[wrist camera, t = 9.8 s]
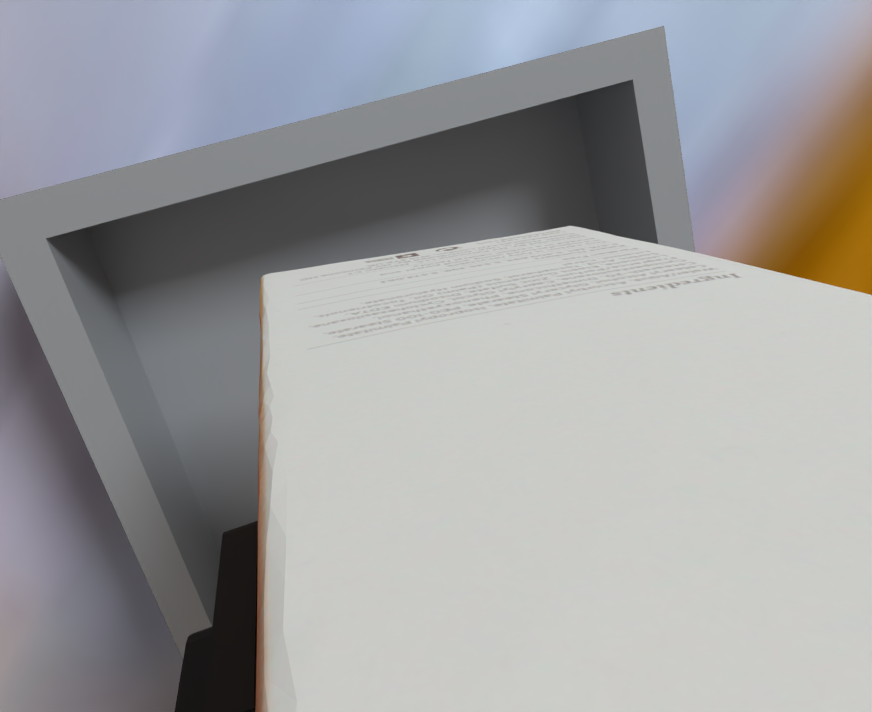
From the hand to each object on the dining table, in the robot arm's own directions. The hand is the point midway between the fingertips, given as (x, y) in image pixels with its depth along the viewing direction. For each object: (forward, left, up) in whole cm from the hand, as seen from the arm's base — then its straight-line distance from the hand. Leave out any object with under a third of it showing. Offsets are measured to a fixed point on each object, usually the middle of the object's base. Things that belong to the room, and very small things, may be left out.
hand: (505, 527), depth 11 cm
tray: (0, 0, -12) cm, 12 cm away
